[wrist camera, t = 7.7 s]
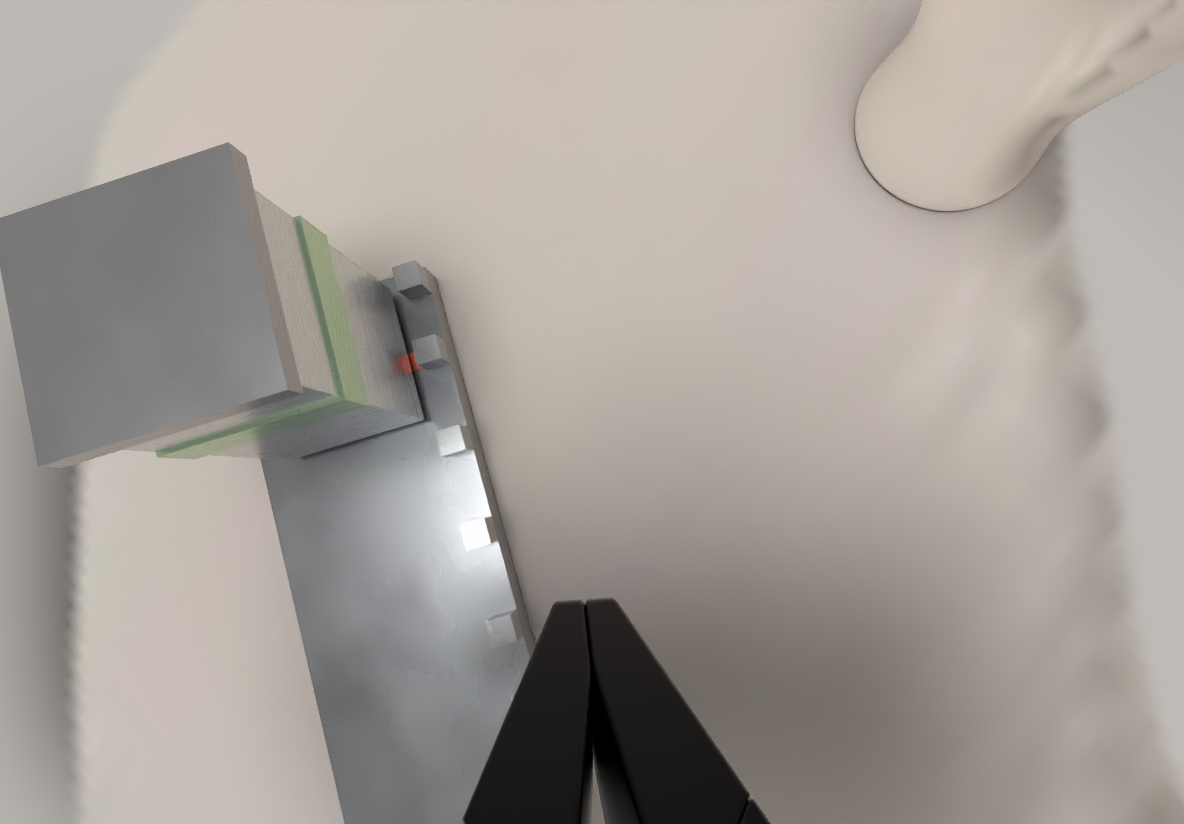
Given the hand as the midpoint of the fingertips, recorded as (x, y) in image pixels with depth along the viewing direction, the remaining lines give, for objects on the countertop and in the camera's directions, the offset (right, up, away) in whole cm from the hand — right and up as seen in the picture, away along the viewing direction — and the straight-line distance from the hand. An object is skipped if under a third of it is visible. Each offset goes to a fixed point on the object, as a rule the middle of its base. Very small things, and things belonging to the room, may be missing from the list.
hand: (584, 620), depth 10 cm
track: (-5, -5, +14) cm, 15 cm away
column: (-8, +4, +13) cm, 16 cm away
